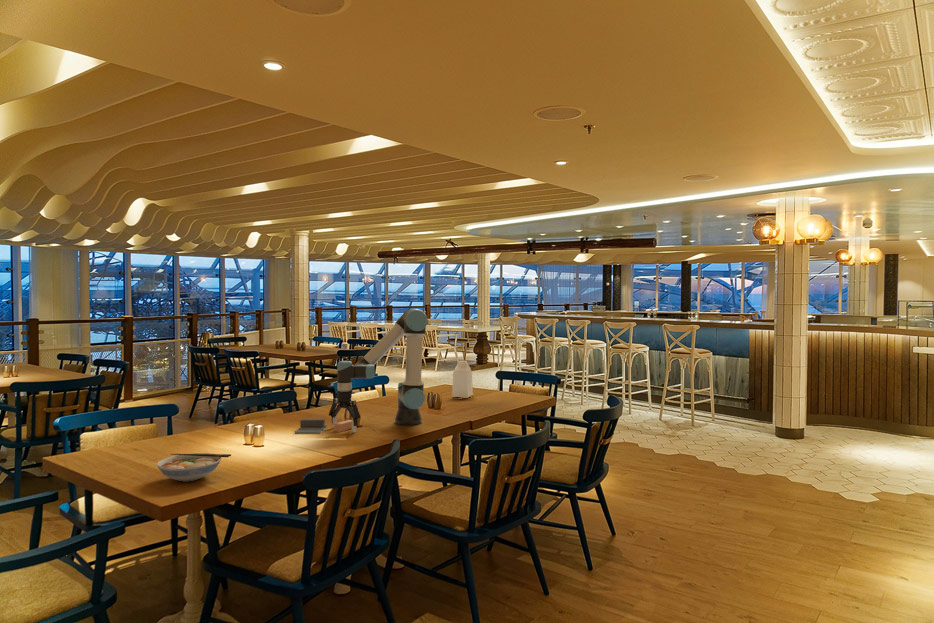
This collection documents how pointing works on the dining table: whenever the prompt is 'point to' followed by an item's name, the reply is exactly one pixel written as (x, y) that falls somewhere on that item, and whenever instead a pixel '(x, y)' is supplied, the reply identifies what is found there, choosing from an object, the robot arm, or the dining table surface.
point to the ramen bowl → (189, 465)
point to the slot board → (310, 430)
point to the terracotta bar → (343, 426)
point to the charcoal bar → (312, 423)
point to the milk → (462, 380)
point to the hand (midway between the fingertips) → (344, 430)
